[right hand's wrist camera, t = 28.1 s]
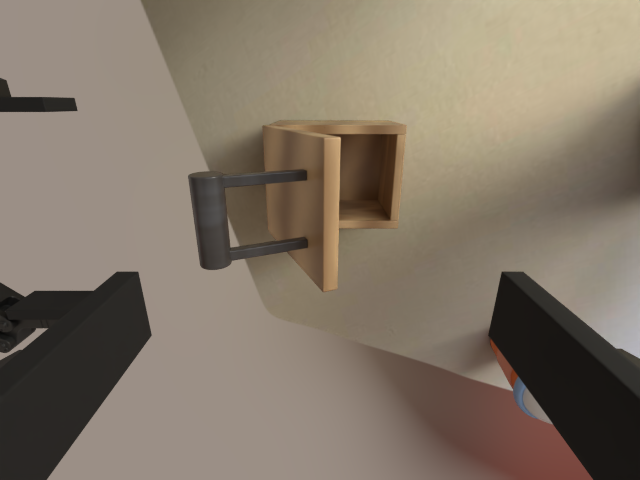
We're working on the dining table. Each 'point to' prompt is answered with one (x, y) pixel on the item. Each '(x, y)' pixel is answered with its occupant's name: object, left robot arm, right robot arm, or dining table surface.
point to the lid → (279, 204)
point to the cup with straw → (520, 389)
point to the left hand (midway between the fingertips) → (89, 215)
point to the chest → (365, 169)
